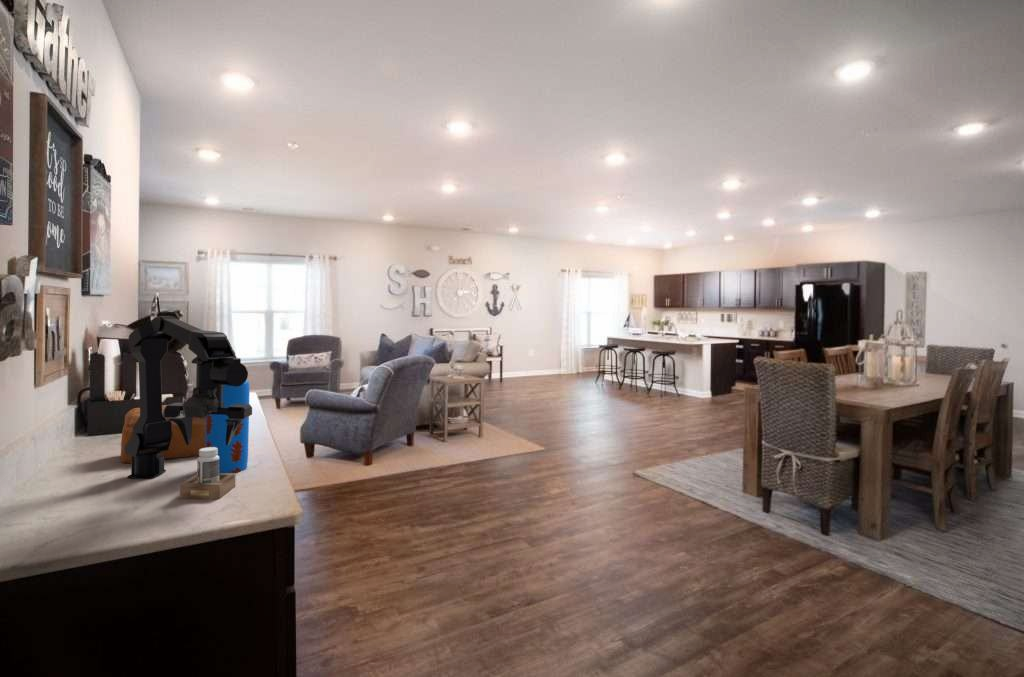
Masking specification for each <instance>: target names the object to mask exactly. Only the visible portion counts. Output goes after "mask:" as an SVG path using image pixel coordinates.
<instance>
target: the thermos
mask: <svg viewBox="0 0 1024 677" xmlns="http://www.w3.org/2000/svg"><path fill="white" fill-rule="evenodd" d="M223 386H225V390H223V392H222V402H224V406H222V407H229V406H232V405H234V404H250V391H251V390H250V381H248V380H246V381H245V383H244V384H242V385H241V386H237V387H236V386H228V385H223ZM227 419H229V417H228V416H227V415H218V414H207V416H206V440H205V448H207V447H216V448H218V454H217V455H218V456H219V473H236V474H237V473H240V472H243V471H245V470H246V468H247V469H248V462H249V461H248V459H249V432H250V427H249V426H250V416H248V417H247V418H246V419H244V420H242V421H241V422H240V424H239V425H238V427H237V429H236V431H235V433H234V435H233V438H232V440H231V442H230V444H229V445H228V446H226V431H227V424H226V421H225V420H227Z"/></svg>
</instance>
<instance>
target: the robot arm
mask: <svg viewBox="0 0 1024 677" xmlns="http://www.w3.org/2000/svg"><path fill="white" fill-rule="evenodd" d="M127 339H128V340H127V341H128V344H129V348H130V349H129V350H130V354H132V356H133V357H134V358H135V360H136V361H137V362H138V385H139V389H138V390H139V408H140V417H139V419H138V420H137V422H136V423H135V425H134V426H133V435H132V437H131V438H130V440H129V441H128V442H127V444H126V445H125V447H124V449H125V454H126V455H129V456H132V458H131V463H130V464H131V466H130V467H131V470H130V473H131V474H129V475H127V476H126V477H127V479H154V478H156V477H157V476H160V475H162V474H163V473H166V472H167V470H166V469H165V459H164V457H163V451H167V450H169V446H170V442H171V438H172V430H171V426H172V423H171V421H174V422H175V423H176V424H177V425H178V426H179V428H180V430H181V432H182V435H183V437H184V439H185V442H186V444H187V445H190V444H191V438H192V422H193V417H198V418H204V417H206V416H207V414H218V415H227V416H228V417H229V419H227V420H225V421H226V424H227V431H226V446H228V445H229V444H230V442H231V440H232V438H233V435H234V433H235V431H236V429H237V427H238V425H239V424H240V422H241V421H242V420H244V419H246V418H247V417H248V416H249V417H250V416H252V415H253V407H252V406H251V404H250V403H249V404H234V405H232V406H229V407H222V406H224V402H222V392H223V390H225V386H223V385H228V386H236V387H237V386H241V385H242V384H244V383H245V381H248V377H249V376H248V375H249V371H248V368H247V367H246V366H245V364H243V363H241V362H242V360H241V358H240V357H237V355H236V352H235V350H234V349H233V347H232V344H231V342H230V340H229V338H228V336H227V335H226V333H224V332H223V331H221V332H220V331H214V330H203V329H201V328H199V327H196V326H194V325H192V324H189V323H187V322H184V321H182V320H180V319H178V318H177V317H175V316H168V315H167V316H165V315H162V316H160V315H158V316H155V317H153V318H152V320H150V321H149V322H145V323H143V324H141V325H138V326H137V327H136V328H135V329H133V331H132V332H130V333H129V334H128V338H127ZM174 339H176V340H178V341H180V342H182V343H184V344H186V345H188V350H189V351H191V353H193V354H194V355H196V357H194V358H192V360H191V364H195V365H196V372H195V373H196V376H195V387H194V388H193V389H192V394H191V396H190V397H189V398H187V399H186V400H185V402H173V403H170V404H166V405H167V406H166V407H165V408H164V410H163V414H162V405H163V395H162V394H163V392H162V391H163V390H162V389H163V385H162V360H163V359H164V357H165V356H166V354H167V352H168V349H169V344H170V343H171V342H173V341H174ZM165 417H170V418H169V421H167V420H166V418H165Z"/></svg>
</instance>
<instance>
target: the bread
mask: <svg viewBox="0 0 1024 677" xmlns="http://www.w3.org/2000/svg"><path fill="white" fill-rule="evenodd" d="M167 405H168V404H164V405H163V404H162V414H163V410H164V408H165V407H166V406H167ZM139 417H140V407H134V408H132V409H130V410H129V411H128V412H127V413H126V414H125V415H124V424H123V426H122V427H123V428H122V432H121V441H120V442H121V443H120V461H121V462H122V463H125V464H126V463H127V464H131V458H132V456H129V455H126V454H125V449H124V447H125V445H126V444H127V442H128V441H129V440H130V438H131V437H132V435H133V426H134V425H135V423H136V422H137V420H138V419H139ZM165 418H166V420H167V421H169V418H170V417H165ZM171 423H172V426H171V430H172V438H171V442H170V446H169V450H167V451H163V457H164V460H168V459H169V460H170V459H177V458H179V459H180V458H189V457H198V456H199V450H200V449H202V448H205V440H206V417H204V418H198V417H193V422H192V438H191V444H190V445H187V444H186V442H185V439H184V437H183V435H182V432H181V430H180V428H179V426H178V425H177V424H176V423H175V422H174V421H171ZM199 457H200V456H199Z"/></svg>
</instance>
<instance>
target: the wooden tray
mask: <svg viewBox="0 0 1024 677" xmlns="http://www.w3.org/2000/svg"><path fill="white" fill-rule="evenodd" d="M236 474H237V473H219V482H217V483H197V473H196V474H194V475H193V476H192V477H189V478H187V479H186V480H185V481H183V482H182V483H180V485H179V499H180V500H218V499H219V500H220V499H221V498H223V497H224V496H225V495H226V494H228V493H229V492H231V491H232V490H233V489H235V488H236V477H237V476H236Z"/></svg>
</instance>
